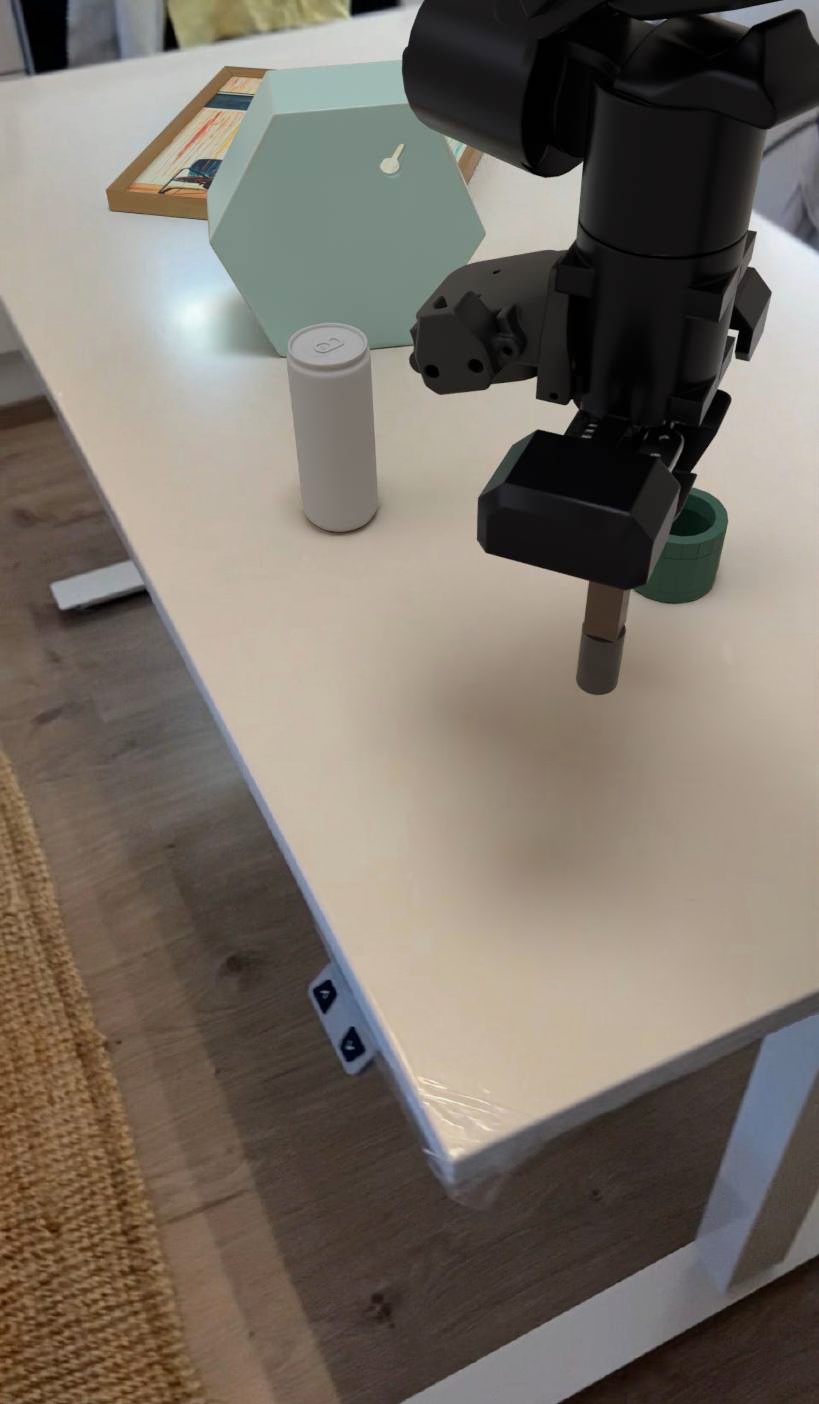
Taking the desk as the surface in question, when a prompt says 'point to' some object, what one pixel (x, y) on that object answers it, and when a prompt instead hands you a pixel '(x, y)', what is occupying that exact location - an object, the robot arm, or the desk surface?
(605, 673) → the brown lever handle
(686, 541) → the green round lever base
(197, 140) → the picture frame
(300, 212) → the mint green hexagonal prism
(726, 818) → the desk surface
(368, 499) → the beverage can
